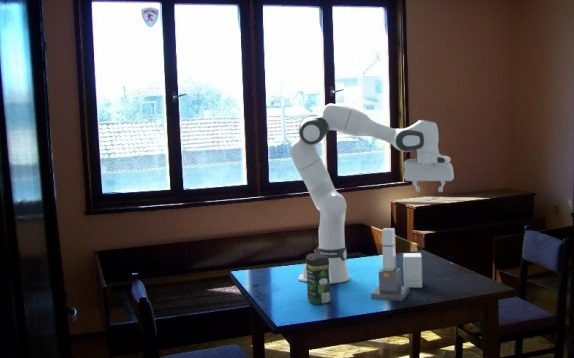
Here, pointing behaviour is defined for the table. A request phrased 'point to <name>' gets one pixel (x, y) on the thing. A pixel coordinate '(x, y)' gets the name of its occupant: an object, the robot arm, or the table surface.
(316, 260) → the coffee jar
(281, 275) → the table surface
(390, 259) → the column
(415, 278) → the supplement box
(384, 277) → the stand
